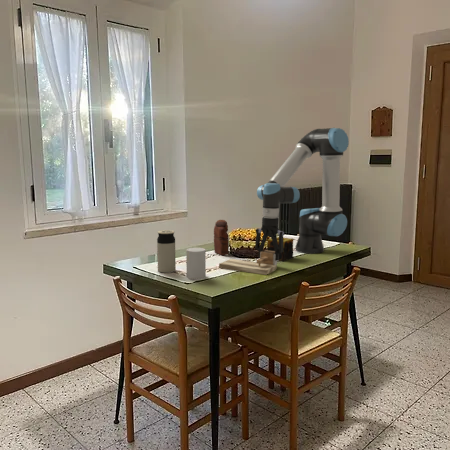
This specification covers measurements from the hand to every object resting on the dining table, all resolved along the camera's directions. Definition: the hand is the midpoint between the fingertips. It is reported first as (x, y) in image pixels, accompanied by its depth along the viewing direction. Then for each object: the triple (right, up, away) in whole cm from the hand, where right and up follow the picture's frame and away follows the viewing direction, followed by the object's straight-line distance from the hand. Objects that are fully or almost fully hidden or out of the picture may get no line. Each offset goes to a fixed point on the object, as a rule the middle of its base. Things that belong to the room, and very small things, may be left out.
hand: (268, 265), depth 213 cm
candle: (+7, +2, +17) cm, 19 cm away
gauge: (-2, -1, -3) cm, 4 cm away
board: (-10, -1, -4) cm, 10 cm away
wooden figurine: (-22, +4, +28) cm, 36 cm away
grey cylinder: (-33, -3, -18) cm, 37 cm away
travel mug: (-46, -2, -8) cm, 47 cm away
